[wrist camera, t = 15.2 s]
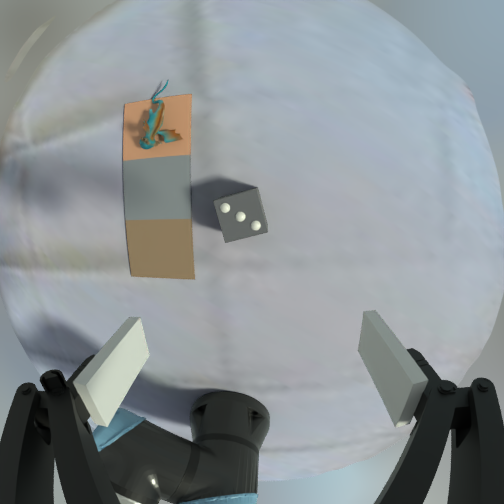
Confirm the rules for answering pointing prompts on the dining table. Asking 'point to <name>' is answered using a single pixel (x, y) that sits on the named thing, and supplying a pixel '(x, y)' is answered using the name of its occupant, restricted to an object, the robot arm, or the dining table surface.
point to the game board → (158, 192)
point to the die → (241, 215)
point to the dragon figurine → (157, 127)
